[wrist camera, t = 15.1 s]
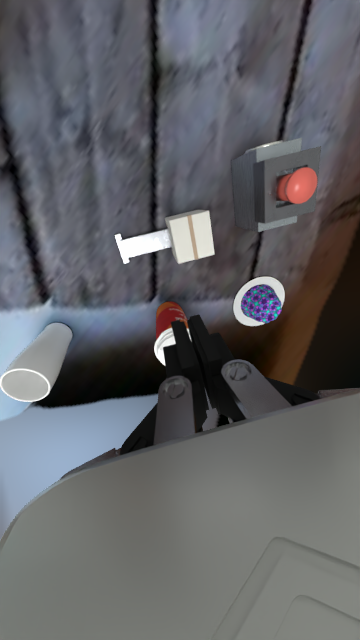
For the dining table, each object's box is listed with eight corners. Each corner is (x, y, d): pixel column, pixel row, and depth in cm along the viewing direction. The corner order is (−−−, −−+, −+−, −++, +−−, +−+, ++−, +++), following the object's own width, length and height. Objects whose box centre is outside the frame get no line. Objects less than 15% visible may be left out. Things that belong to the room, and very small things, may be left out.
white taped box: (164, 217, 37) (169, 220, 31) (198, 209, 37) (209, 210, 31) (173, 254, 40) (178, 264, 34) (203, 247, 41) (214, 254, 35)
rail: (114, 234, 37) (113, 235, 36) (204, 212, 38) (207, 212, 37) (124, 262, 40) (123, 264, 39) (208, 241, 40) (210, 242, 39)
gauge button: (267, 175, 28) (288, 171, 24) (293, 169, 28) (318, 164, 24) (267, 206, 30) (287, 206, 26) (292, 200, 30) (315, 199, 26)
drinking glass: (59, 312, 43) (23, 360, 30) (84, 335, 46) (61, 388, 33) (33, 329, 43) (-14, 383, 30) (59, 351, 47) (26, 408, 34)
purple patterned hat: (272, 325, 53) (285, 336, 48) (226, 323, 50) (235, 335, 46) (290, 277, 47) (306, 285, 43) (239, 273, 45) (250, 281, 40)
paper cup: (191, 320, 48) (208, 360, 36) (160, 333, 48) (166, 377, 36) (179, 290, 44) (193, 323, 32) (144, 304, 45) (145, 343, 32)
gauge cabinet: (227, 158, 35) (264, 139, 24) (269, 148, 35) (323, 125, 25) (233, 226, 40) (265, 235, 29) (269, 217, 40) (313, 223, 30)
